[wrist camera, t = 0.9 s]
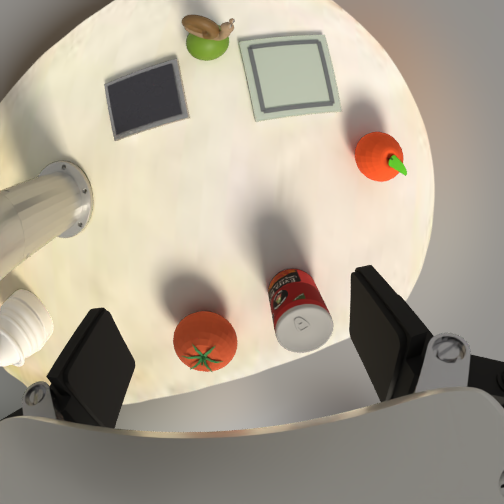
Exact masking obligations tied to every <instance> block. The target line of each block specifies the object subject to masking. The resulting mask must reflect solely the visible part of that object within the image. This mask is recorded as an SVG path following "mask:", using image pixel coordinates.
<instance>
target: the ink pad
mask: <svg viewBox="0 0 504 504" xmlns="http://www.w3.org/2000/svg"><path fill="white" fill-rule="evenodd" d="M104 86H105V92H106V98H107V104H108V110H109V115H110V120H111V125H112V130H113V135H114V140H115V141H118V140H121V139H123V138H126V137H129V136H132V135H135V134H138V133H141V132H144V131H147V130H150V129H153V128H156V127H160V126H163V125H166V124H170V123H173V122H177V121H181V120H184V119H188V118H190V116H189V112H188V107H187V102H186V97H185V92H184V87H183V82H182V77H181V72H180V66H179V61H178V59H173V60H170V61H166V62H163V63H160V64H157V65H154V66H151V67H148V68H145V69H142V70H139V71H137V72H134V73H131V74H129V75H126V76H123V77H121V78H119V79H116V80H114V81H111V82H109V83H107V84H104Z"/></svg>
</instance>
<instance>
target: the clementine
mask: <svg viewBox="0 0 504 504" xmlns="http://www.w3.org/2000/svg"><path fill="white" fill-rule="evenodd" d="M355 160H356V163H357V166H358V168H359V170H360V171H361V172H362V173H363V174H364V175H365V176H366V177H368V178H369V179H371V180H374V181H381V182H382V181H388V180H390V179H392V178H394V177H395V176H396V175H397V174H398V173H399V172H400V173H402V174H404V175H405V176H406V175H407V171H406V168H405V166H404V165H403V152H402V149H401V147H400V145H399V143H398V142H397V141H396V140H395V139H394V138H393V137H392V136H390V135H388V134H385V133H382V132H372V133H369V134H366V135H365V136H364V137H362V138H361V139H360V141H359V142H358V144H357V146H356V149H355Z"/></svg>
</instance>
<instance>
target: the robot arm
mask: <svg viewBox="0 0 504 504" xmlns="http://www.w3.org/2000/svg"><path fill="white" fill-rule="evenodd" d="M86 190H87V191H86ZM92 210H93V194H92V190H91V186H90V183H89V181H88V179H87V177H86V175H85V174H84V172H83V171H82V170H81V169H80V168H79V167H77V166H76V165H75V164H73V163H71V162H67V161H57V162H54V163H51V164H49V165H47V166H46V167H45V168H44V169H43V170H42V171H41V172H40V174H39V176H38V177H37V178H34V179H31V180H28V181H25V182H22V183H19V184H17V185H14V186H11V187H8V188H6V189H3V190H1V191H0V280H1V279H2V278H4V277H5V276H6V275H7V274H8V273H9V272H11V271H12V270H13V269H14V268H15V267H17V266H18V265H19V264H21V263H22V262H23V261H25V260H26V259H27V258H28V257H30V256H31V255H32V254H34V253H35V252H36V251H38V250H39V249H41V248H42V247H43V246H45V245H46V244H47V243H49V242H50V241H52V240H53V239H54V238H56V237H60V238H70V237H73V236H75V235H77V234H78V233H80V232H81V231H82V230H83V229H84V228H85V227H86V225H87V224H88V222H89V220H90V218H91V215H92ZM349 331H350V337H351V339H352V341H353V344H354V346H355V348H356V350H357V352H358V354H359V356H360V358H361V360H362V362H363V364H364V366H365V369H366V371H367V373H368V375H369V377H370V379H371V382H372V384H373V385H374V388H375V390H376V392H377V395H378V397H379V399H380V401H381V403H377V404H374V405H370V406H367V407H363V408H360V409H356V410H352V411H348V412H344V413H340V414H336V415H331V416H326V417H322V418H317V419H312V420H307V421H302V422H296V423H290V424H284V425H278V426H270V427H262V428H254V429H244V430H232V431H217V432H152V431H136V430H123V429H114V428H115V425H116V421H117V418H118V415H119V412H120V409H121V406H122V403H123V400H124V397H125V394H126V391H127V388H128V386H129V383H130V380H131V377H132V374H133V372H134V369H135V360H134V358H133V356H132V355H131V353H130V351H129V349H128V347H127V345H126V344H125V342H124V340H123V338H122V336H121V334H120V332H119V330H118V328H117V326H116V324H115V322H114V320H113V318H112V316H111V314H110V312H109V311H107V310H106V309H105V308H95V309H91V310H90V311H89V312H88V313H87V315H86V316H85V318H84V319H83V321H82V322H81V323H80V325H79V326H78V328H77V329H76V331H75V332H74V334H73V335H72V337H71V338H70V340H69V341H68V343H67V344H66V346H65V347H64V349H63V351H62V352H61V354H60V355H59V357H58V358H57V360H56V362H55V363H54V365H53V367H52V368H51V370H50V371H49V373H48V375H47V376H46V377H47V378H48V379H49V381H50V382H51V385H50V386H49V385H48V384H47V383H46V382H43V381H40V382H36V383H34V384H32V385H31V386H29V387H28V388H27V389H26V391H25V392H24V394H23V397H22V408H21V409H19V410H17V411H15V412H14V413H12V414H10V415H8V416H7V417H5V418H3V419H2V420H0V504H504V362H501V361H497V360H492V359H488V358H484V357H479V356H475V355H471V354H470V347H469V345H468V343H467V341H465V340H464V338H462V337H460V336H459V335H456V334H453V333H441V334H438V335H436V336H433V335H432V333H431V332H430V331H429V330H428V329H427V327H426V326H425V325H424V323H423V322H422V321H421V320H420V319H419V318H418V316H417V315H416V314H415V313H414V311H412V309H411V308H410V307H409V305H408V304H407V303H406V302H405V301H404V300H403V298H402V297H401V296H400V295H398V294H397V293H396V292H395V291H394V290H393V289H392V288H391V286H390V285H389V284H388V283H387V282H386V281H385V280H384V278H383V277H382V276H381V275H380V274H379V273H378V272H377V271H376V270H375V268H374V267H373V266H372V265H368V266H363V267H358V268H356V269H355V272H353V273H351V301H350V327H349Z"/></svg>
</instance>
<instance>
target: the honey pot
mask: <svg viewBox="0 0 504 504" xmlns="http://www.w3.org/2000/svg"><path fill="white" fill-rule="evenodd" d="M52 333H53V321H52V318H51V316H50V313H49V311H48V310H47V308H46V307H45V305H44V304H43V303H42V302H41V300H40V299H39V298H38V297H36V296H35V295H34V294H33V293H31V292H29V291H27V290H24V289H18V290H17V291H15V292H14V293H13V294H12V295H11V296H10V297H9V298H8V299H7V300H6V301H5V302H4V303H3V304H2V306H1V309H0V366H8V365H12V364H13V365H15V366H22V365H23V364H24V361H25V359H24V358H26V357H30V356H31V355H32V354H34V353H35V352H37V351H39V350H40V349H41V348H42V347H43V346H44V344H45V343H46V342H47V340H48V339H49V338H50V336H51V335H52Z"/></svg>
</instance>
